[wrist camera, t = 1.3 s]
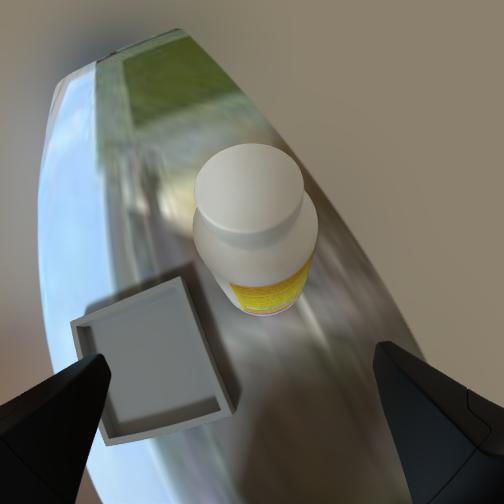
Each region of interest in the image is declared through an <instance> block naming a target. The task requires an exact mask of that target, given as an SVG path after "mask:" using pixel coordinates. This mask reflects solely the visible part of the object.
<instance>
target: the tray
mask: <svg viewBox="0 0 504 504" xmlns="http://www.w3.org/2000/svg"><path fill="white" fill-rule="evenodd" d="M70 324H71V330H72V335H73V339H74V344H75V349H76V353H77V357H78V361H79V360H81V359H82V358H84V357H86V356H87V355H89V354H91V353H101V354H103V355H104V357H105V359H106V361H107V363H108V366H109V368H110V370H111V374H112V377H111V381H110V385H109V389H108V393H107V397H106V402H105V406H104V410H103V413H102V416H101V419H100V422H99V425H98V427H99V430H100V432H101V435H102V438H103V440H104V443H105V445H106V446H112V445H118V444H123V443H129V442H134V441H139V440H144V439H148V438H153V437H157V436H162V435H166V434H170V433H174V432H178V431H181V430H185V429H189V428H192V427H196V426H199V425H203V424H206V423H209V422H213V421H216V420H219V419H222V418H225V417H228V416H231V415H233V414H234V413H235V412H236V411H235V408H234V406H233V404H232V401H231V399H230V397H229V394H228V392H227V389H226V387H225V385H224V382H223V380H222V377H221V375H220V372H219V370H218V367H217V365H216V362H215V360H214V357H213V355H212V352H211V349H210V347H209V344H208V341H207V339H206V336H205V333H204V331H203V328H202V325H201V323H200V320H199V317H198V314H197V311H196V309H195V306H194V303H193V300H192V297H191V294H190V291H189V288H188V285H187V283H186V282H185V281H184V280H183V279H182V278H181V277H180V276H179V277H177V278H174V279H172V280H169V281H167V282H164V283H162V284H160V285H157V286H155V287H152V288H150V289H148V290H145V291H143V292H140V293H138V294H136V295H133V296H131V297H128V298H126V299H123V300H121V301H119V302H116V303H114V304H111V305H109V306H107V307H104V308H102V309H99V310H97V311H95V312H92V313H90V314H87V315H85V316H83V317H80V318H78V319H76V320H73V321H71V322H70Z"/></svg>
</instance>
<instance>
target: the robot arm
mask: <svg viewBox="0 0 504 504" xmlns="http://www.w3.org/2000/svg"><path fill="white" fill-rule="evenodd" d="M373 369H374V373H375V378H376V382H377V386H378V390H379V395H380V399H381V403H382V407H383V410H384V414H385V416H386V419H387V422H388V425H389V428H390V431H391V434H392V437H393V440H394V442H395V446H396V449H397V452H398V455H399V458H400V461H401V464H402V467H403V471H404V474H405V477H406V480H407V484H408V487H409V491H410V494H411V498H412V501H413V504H504V408H503V407H501V406H499V405H497V404H495V403H493V402H491V401H489V400H487V399H485V398H483V397H481V396H480V395H478V394H476V393H475V392H473V391H472V390H470V389H467V388H466V387H465V386H463V385H461V384H460V383H458V382H456V381H455V380H453V379H451V378H450V377H448V376H447V375H445V374H443V373H442V372H440V371H439V370H437V369H435V368H434V367H432V366H430V365H429V364H427V363H425V362H424V361H422V360H420V359H419V358H417V357H416V356H414V355H412V354H411V353H409V352H407V351H406V350H404V349H402V348H401V347H399V346H398V345H396V344H394V343H393V342H391V341H383V342H378V343H377V345H376V349H375V355H374V360H373ZM111 377H112V374H111V370H110V368H109V366H108V363H107V361H106V359H105V357H104V355H103V354H101V353H91V354H89V355H87V356H86V357H84V358H82V359H81V360H79V361H77V362H75V363H74V364H72V365H70V366H69V367H67V368H65V369H63V370H62V371H60V372H58V373H57V374H55V375H53V376H52V377H50V378H48V379H46V380H45V381H43V382H41V383H40V384H38V385H36V386H34V387H33V388H31V389H29V390H28V391H26V392H24V393H22V394H21V395H20V396H17V397H15V398H14V399H12V400H10V401H8V402H7V403H5V404H3V405H1V406H0V504H75V502H76V498H77V494H78V491H79V487H80V483H81V480H82V476H83V473H84V469H85V466H86V463H87V459H88V456H89V453H90V450H91V446H92V443H93V440H94V437H95V434H96V431H97V428H98V425H99V422H100V419H101V416H102V413H103V410H104V406H105V402H106V397H107V393H108V389H109V385H110V381H111Z"/></svg>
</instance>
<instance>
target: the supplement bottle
mask: <svg viewBox="0 0 504 504" xmlns="http://www.w3.org/2000/svg"><path fill="white" fill-rule="evenodd" d="M194 196H195V201H196V205H197V208H196V211H195V215H194V220H193V237H194V242H195V246H196V248H197V251H198V253H199V255H200V256H201V258H202V260H203V261H204V263H205V265H206V266H207V267H208V269H209V270H210V272H211V273H212V275H213V276H214V277H215V279H216V281H217V282H218V284H219V285H220V286H221V288H222V289H223V291H224V292H225V294H226V295H227V297H228V298H229V299H230V301H231V302H232V303H233V304H234V305H235V306H236V307H238V308H239V309H241V310H242V311H244V312H246V313H249V314H252V315H258V316H268V315H274V314H277V313H280V312H282V311H284V310H286V309H287V308H289V307H290V306H291V305H292V304H293V303H294V302H295V301H296V300H297V299H298V298H299V296H300V294H301V293H302V291H303V288H304V285H305V282H306V278H307V274H308V270H309V267H310V263H311V259H312V255H313V251H314V248H315V244H316V240H317V234H318V218H317V213H316V209H315V207H314V204H313V202H312V200H311V198H310V197H309V195H308V194H307V193H306V191H305V190H304V181H303V177H302V174H301V171H300V169H299V167H298V165H297V164H296V163H295V161H294V160H293V159H292V158H291V157H290V156H289V155H287V154H286V153H284V152H283V151H281V150H279V149H277V148H275V147H272V146H269V145H264V144H255V143H246V144H240V145H235V146H232V147H229V148H227V149H224V150H222V151H220V152H219V153H217V154H216V155H214V156H213V157H212V158H210V159H209V160H208V161H207V162H206V163H205V164H204V166H203V167H202V168H201V170H200V172H199V174H198V176H197V179H196V182H195V188H194Z"/></svg>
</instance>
